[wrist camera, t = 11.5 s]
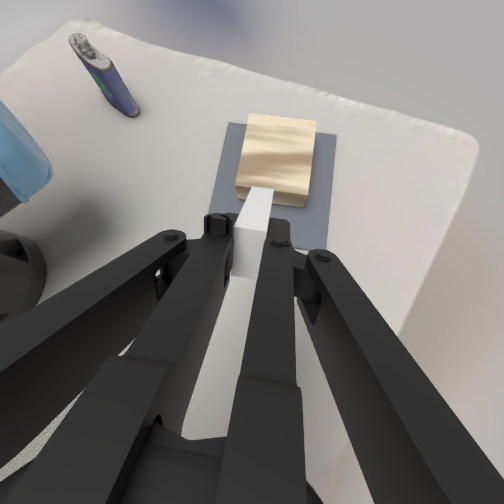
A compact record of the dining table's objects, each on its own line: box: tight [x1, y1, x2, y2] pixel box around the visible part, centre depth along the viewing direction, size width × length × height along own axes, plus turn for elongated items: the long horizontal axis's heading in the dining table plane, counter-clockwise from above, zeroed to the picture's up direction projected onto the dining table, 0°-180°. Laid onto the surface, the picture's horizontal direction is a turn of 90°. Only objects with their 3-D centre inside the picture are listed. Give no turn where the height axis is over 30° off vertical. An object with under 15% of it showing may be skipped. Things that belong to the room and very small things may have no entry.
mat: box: [208, 122, 337, 251], centre depth 39 cm, size 20×18×1 cm
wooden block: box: [235, 113, 317, 208], centre depth 37 cm, size 4×10×12 cm
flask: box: [69, 33, 140, 118], centre depth 39 cm, size 9×3×11 cm, turn 46°
